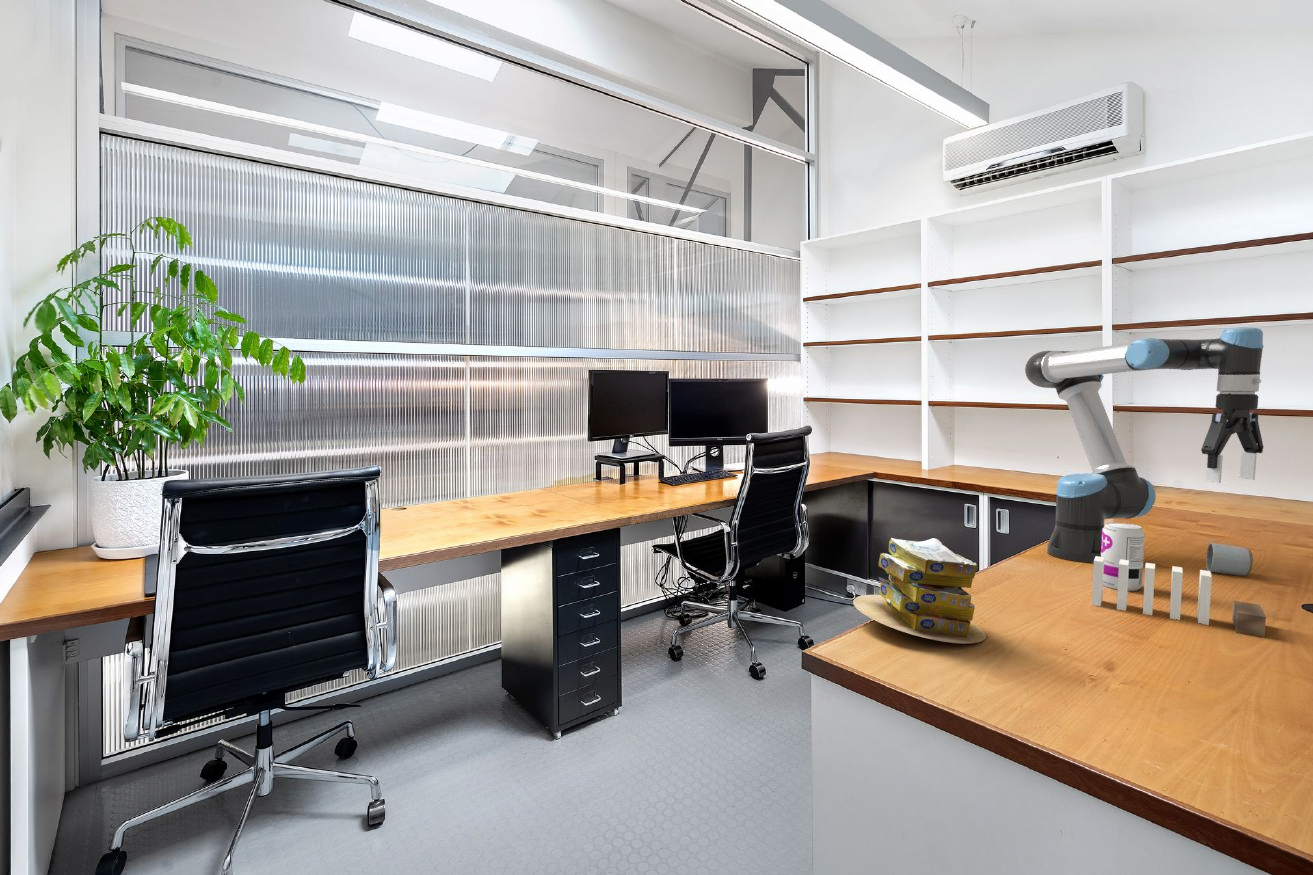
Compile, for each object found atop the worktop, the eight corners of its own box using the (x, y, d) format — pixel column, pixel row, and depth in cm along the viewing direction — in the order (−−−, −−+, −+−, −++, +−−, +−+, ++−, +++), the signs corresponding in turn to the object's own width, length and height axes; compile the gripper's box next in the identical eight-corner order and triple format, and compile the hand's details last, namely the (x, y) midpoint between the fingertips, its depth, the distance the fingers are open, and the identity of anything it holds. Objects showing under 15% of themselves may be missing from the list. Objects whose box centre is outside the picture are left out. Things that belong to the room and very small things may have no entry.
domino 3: (1142, 613, 135) (1145, 567, 134) (1143, 607, 139) (1145, 562, 138) (1152, 615, 134) (1154, 568, 133) (1152, 609, 138) (1155, 563, 137)
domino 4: (1170, 618, 132) (1172, 571, 131) (1169, 611, 136) (1172, 566, 135) (1179, 620, 131) (1182, 572, 130) (1179, 613, 135) (1182, 567, 134)
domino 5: (1198, 623, 129) (1201, 575, 129) (1197, 616, 133) (1200, 569, 132) (1208, 625, 128) (1211, 576, 128) (1207, 618, 132) (1210, 571, 131)
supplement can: (1102, 588, 152) (1105, 527, 151) (1097, 579, 159) (1100, 520, 158) (1144, 593, 148) (1148, 530, 147) (1137, 584, 156) (1140, 523, 154)
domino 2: (1116, 609, 138) (1119, 564, 137) (1117, 603, 142) (1120, 559, 141) (1125, 610, 137) (1128, 565, 136) (1126, 604, 141) (1129, 560, 140)
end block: (1236, 632, 124) (1237, 612, 124) (1232, 619, 131) (1233, 600, 131) (1264, 637, 122) (1265, 616, 121) (1258, 623, 129) (1260, 604, 128)
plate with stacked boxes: (960, 608, 139) (963, 532, 137) (1007, 654, 114) (1010, 563, 113) (844, 603, 142) (846, 529, 141) (865, 646, 117) (867, 558, 116)
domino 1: (1091, 604, 140) (1093, 560, 140) (1093, 599, 144) (1095, 556, 144) (1100, 606, 139) (1102, 561, 139) (1102, 600, 143) (1104, 557, 143)
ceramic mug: (1253, 579, 160) (1255, 549, 159) (1211, 574, 164) (1213, 545, 163) (1241, 570, 169) (1243, 541, 168) (1201, 565, 173) (1203, 538, 172)
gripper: (1224, 393, 145) (1217, 485, 147) (1287, 393, 154) (1279, 479, 156) (1186, 393, 152) (1180, 480, 154) (1249, 392, 161) (1242, 475, 163)
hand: (1230, 480), depth 155 cm, fingers open, 13 cm apart
